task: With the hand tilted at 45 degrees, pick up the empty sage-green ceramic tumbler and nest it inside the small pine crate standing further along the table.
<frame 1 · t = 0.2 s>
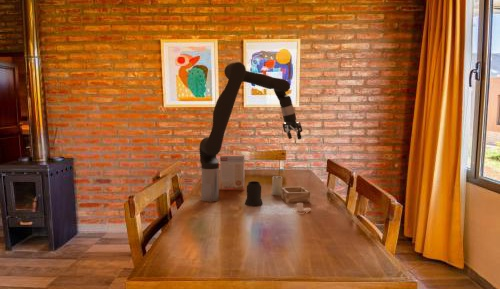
hand: (295, 138, 195), 30 cm above the table, tool tilted 20°, fingers open, 8 cm apart
cracker box: (232, 189, 194), on the table
crate: (294, 199, 172), on the table
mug: (254, 203, 166), on the table
teacup and saucer: (303, 214, 151), on the table
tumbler: (277, 194, 183), on the table
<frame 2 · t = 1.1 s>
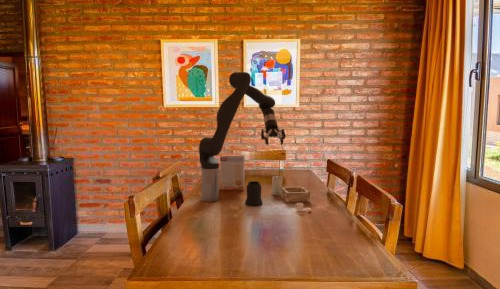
hand: (274, 144, 186), 28 cm above the table, tool tilted 45°, fingers open, 8 cm apart
nothing on the table moved.
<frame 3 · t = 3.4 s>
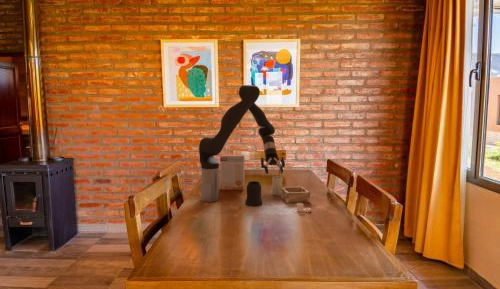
hand: (274, 172, 188), 11 cm above the table, tool tilted 45°, fingers open, 8 cm apart
nothing on the table moved.
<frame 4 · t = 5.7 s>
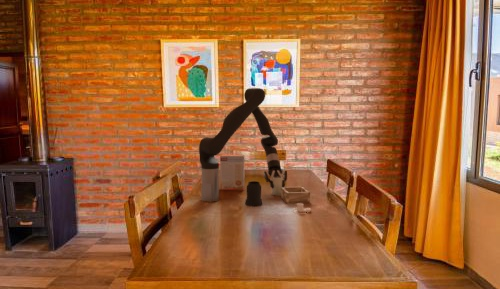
hand: (278, 187, 181), 4 cm above the table, tool tilted 45°, fingers closed on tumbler, 5 cm apart
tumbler: (277, 194, 183), on the table, touching gripper
everything else where it was.
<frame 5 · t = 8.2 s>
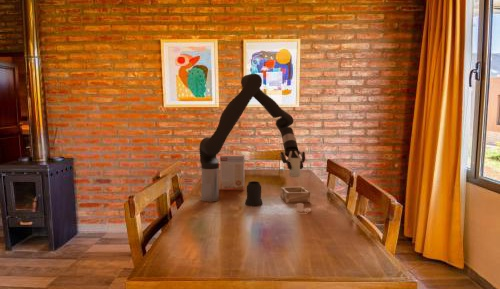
hand: (296, 168, 169), 17 cm above the table, tool tilted 45°, fingers closed on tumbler, 5 cm apart
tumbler: (294, 176, 172), point 13 cm above the table, touching gripper
everything else where it was.
when the fingers open (7 cm above the table, at t = 10.7 s): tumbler drops 1 cm, resting on crate.
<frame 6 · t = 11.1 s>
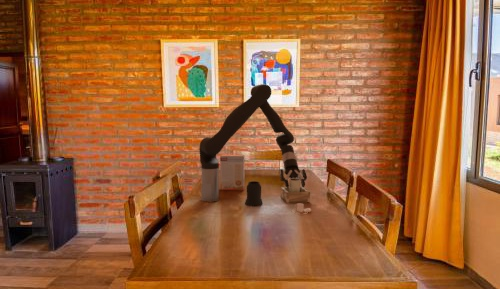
hand: (295, 186, 170), 7 cm above the table, tool tilted 45°, fingers open, 8 cm apart
crate: (294, 199, 172), on the table, touching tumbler
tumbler: (294, 197, 172), point 1 cm above the table, touching crate
everything else where it was.
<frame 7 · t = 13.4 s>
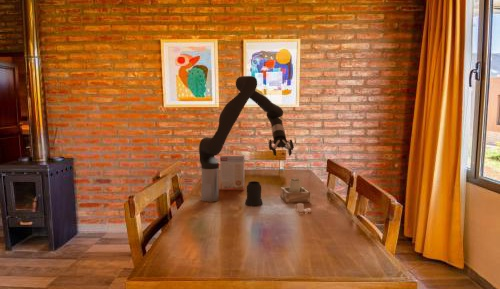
hand: (282, 154, 183), 22 cm above the table, tool tilted 45°, fingers open, 8 cm apart
nothing on the table moved.
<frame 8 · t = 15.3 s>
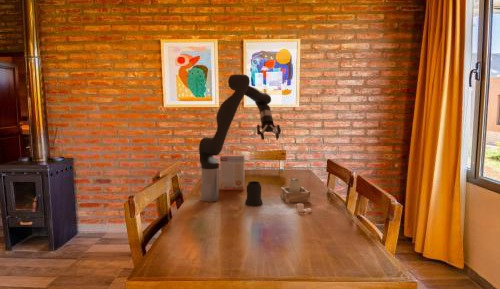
hand: (270, 138, 191), 31 cm above the table, tool tilted 45°, fingers open, 8 cm apart
nothing on the table moved.
at the end: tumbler inside the target area on the crate (0.2 cm from its centre), point 1.1 cm above the crate's base; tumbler tilted 2°; the gripper is holding nothing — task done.
